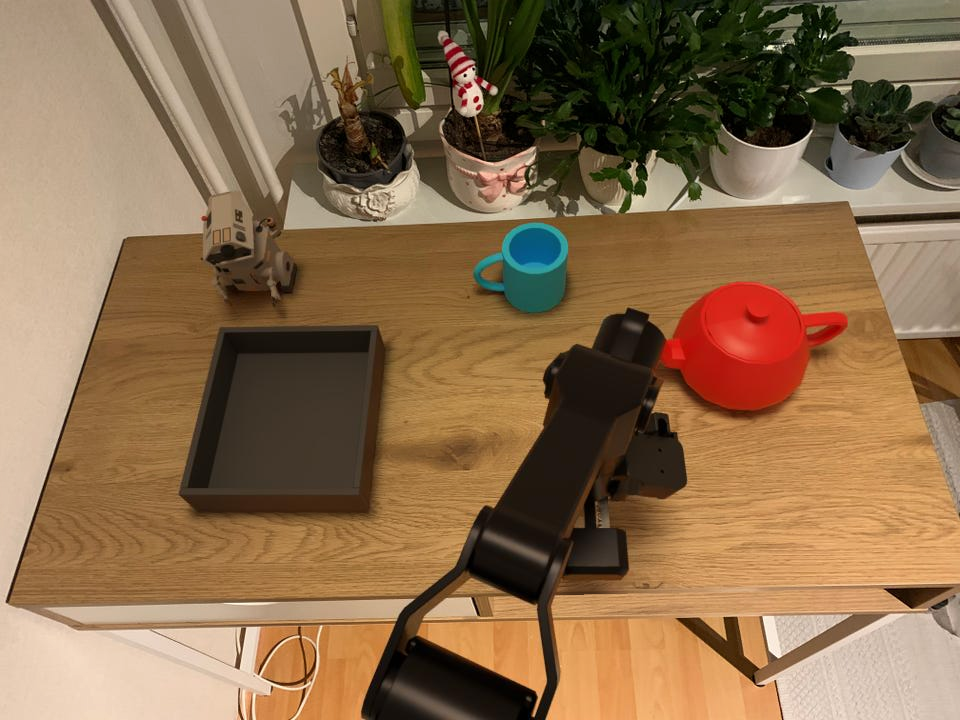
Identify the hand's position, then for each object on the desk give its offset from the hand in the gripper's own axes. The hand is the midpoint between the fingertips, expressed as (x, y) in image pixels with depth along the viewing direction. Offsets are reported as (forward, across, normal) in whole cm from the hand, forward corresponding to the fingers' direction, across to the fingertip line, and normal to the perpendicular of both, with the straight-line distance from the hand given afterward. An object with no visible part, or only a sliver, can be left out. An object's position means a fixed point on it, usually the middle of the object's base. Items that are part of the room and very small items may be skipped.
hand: (581, 504), depth 75 cm
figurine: (+6, +32, +41) cm, 52 cm away
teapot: (+6, +20, -19) cm, 28 cm away
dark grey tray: (+5, +12, +33) cm, 36 cm away
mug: (+6, +32, +6) cm, 33 cm away
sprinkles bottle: (+6, 0, 0) cm, 6 cm away
